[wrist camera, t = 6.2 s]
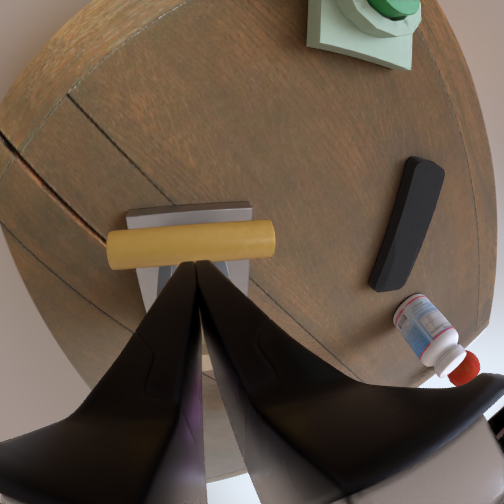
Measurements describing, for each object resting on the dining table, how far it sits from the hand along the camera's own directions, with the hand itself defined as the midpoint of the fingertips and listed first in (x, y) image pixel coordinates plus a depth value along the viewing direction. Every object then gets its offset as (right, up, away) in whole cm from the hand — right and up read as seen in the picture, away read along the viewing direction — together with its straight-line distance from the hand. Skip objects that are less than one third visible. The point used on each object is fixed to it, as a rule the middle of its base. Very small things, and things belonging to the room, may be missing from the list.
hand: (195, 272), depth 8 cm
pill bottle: (+24, -7, +26) cm, 36 cm away
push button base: (+10, +19, +5) cm, 22 cm away
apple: (+49, -23, +43) cm, 69 cm away
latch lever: (-1, -1, +6) cm, 6 cm away
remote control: (+17, +3, +18) cm, 25 cm away
